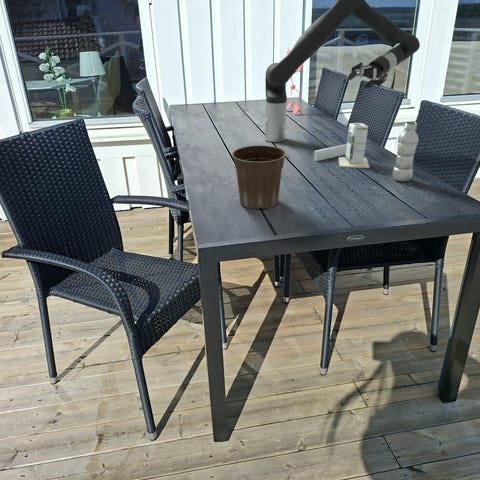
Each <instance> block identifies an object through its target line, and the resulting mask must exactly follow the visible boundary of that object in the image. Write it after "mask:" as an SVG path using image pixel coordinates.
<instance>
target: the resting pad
mask: <svg viewBox="0 0 480 480" xmlns="http://www.w3.org/2000/svg"><path fill="white" fill-rule="evenodd" d="M345 157H346V156H337V158H338V164H339V167H340V168H354V169H355V168H356V169H357V168H358V169H359V168H360V169H362V168H363V169H370V164H369V162H368V159H367V157H364V160H363V163H358V164H349V163H348V162H347V161H346V160H345Z"/></svg>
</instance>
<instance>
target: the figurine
mask: <svg viewBox="0 0 480 480" xmlns="http://www.w3.org/2000/svg"><path fill="white" fill-rule="evenodd" d="M290 51H291V50H290V49H289V48H287V51H286V56H287V55H288V54H289V53H290ZM303 65H304V63H303V64H302V65H301V66H300V67H299V68H298V69H297V70H296V72H295V73H294V74H293V75H295V74H296V73H298V72H299V73H301V74H303V72H304V71H303ZM290 80H291V85H290V95H292V90H294V91H295V92H297V93H298V98H297V102H296V104H295V105H294V103H293V100H290V102H289V103H288V105H287V106H286V111H287V110H289V108H290V107H291V106H292V107H291V108H290V110H291V109H292V112H293V113H292V114H293V116H295V115H296V114H297V113H298V112H299V114H300V115H302V111H301V109H300V104H299V99H300V96H301V93H300V91H298V90H297V89H296V85H295V84H293V76H292V77H291V78H290ZM286 118H288V116H287V115H286Z"/></svg>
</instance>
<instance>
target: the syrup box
mask: <svg viewBox="0 0 480 480" xmlns="http://www.w3.org/2000/svg"><path fill="white" fill-rule="evenodd" d="M368 129H369V126H368V125H366V124H364V123H361V122H353V123H349V124H348V135H347V142H346V144H347V148H346V154H345V156H344V157H345V160H346V161H347V162H348V163H349V164H358V163H363V160H364V158H365V153H366V145H367V139H368V131H369V130H368Z"/></svg>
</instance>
